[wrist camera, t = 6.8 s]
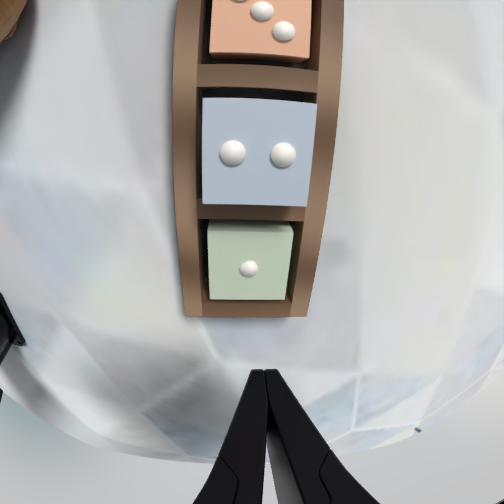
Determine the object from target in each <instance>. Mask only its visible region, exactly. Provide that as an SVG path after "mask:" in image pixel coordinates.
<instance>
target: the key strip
mask: <svg viewBox="0 0 504 504" xmlns="http://www.w3.org/2000/svg"><path fill="white" fill-rule="evenodd" d="M207 5H208V0H178V1H177V12H176V24H175V40H174V59H173V93H172V139H173V175H174V196H175V213H176V228H177V241H178V253H179V263H180V274H181V283H182V292H183V301H184V309H185V316H197V317H305V316H307V311H308V306H309V302H310V297H311V292H312V287H313V282H314V277H315V271H316V266H317V261H318V255H319V249H320V244H321V238H322V232H323V226H324V219H325V213H326V207H327V200H328V193H329V186H330V178H331V171H332V163H333V155H334V146H335V137H336V128H337V118H338V107H339V95H340V82H341V67H342V49H343V22H344V0H312V2H311V31H310V52H309V58H308V59H306V69H299V68H290V67H279V66H266V65H247V64H204V52H205V34H206V18H207ZM211 88H226V89H258V90H274V91H287V92H297V93H304V102H305V103H313V104H317V114H316V125H315V136H314V146H313V156H312V166H311V175H310V184H309V192H308V200H307V207H304V206H280V205H245V204H203V199H202V109H203V89H211ZM203 219H239V220H281V221H292V230H293V241H292V249H291V257H290V265H289V272H288V279H287V287H286V294H285V300H226V299H210V289H209V277H205V264H204V239H203Z"/></svg>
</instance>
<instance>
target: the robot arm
mask: <svg viewBox="0 0 504 504" xmlns="http://www.w3.org/2000/svg"><path fill="white" fill-rule="evenodd" d="M24 343H25V342H24V339H23V338H22V336H21V334H20V332H19V330H18V328H17V327H16V325H15V323H14V321H13V319H12V317H11V315H10V313H9V311H8V309H7V307H6V304H5V302H4V300H3V298H2V296H1V294H0V365H1V363H2V361H3V359H4V357H5V356H6V354H7V352H8V350H9V349H10V347H11V345H12V344H15V345H18V346H23V345H24ZM2 393H3V390H2V389H1V388H0V402H1V397H2ZM266 442H267V448H268V453H269V458H270V464H271V468H272V474H273V479H274V484H275V489H276V494H277V499H278V504H380V503H379V502H378V501H376V500H375V499H374V498H373V497H372V496H371V495H370V494H369V493H368V492H367V491H366V490H365V489H364V488H363V487H362V486H361V485H360V484H359V483H358V482H357V481H356V480H355V478H354V477H353V476H352V475H351V474H350V473H349V472H348V471H347V470H346V469H345V467H344V466H343V465H342V463H341V462H340V461H339V459H338V458H337V457H336V455H335V454H334V452H333V451H332V450H331V449H330V447H329V446H328V444H327V443H326V441H325V440H324V438H323V437H322V436H321V434H320V433H319V431H318V430H317V428H316V427H315V425H314V424H313V422H312V421H311V419H310V418H309V417H308V415H307V414H306V412H305V411H304V409H303V408H302V406H301V405H300V403H299V402H298V400H297V399H296V397H295V396H294V394H293V393H292V391H291V390H290V388H289V387H288V385H287V384H286V382H285V380H284V379H283V377H282V376H281V374H280V373H279V371H278V370H277V369H265V370H262V369H253V370H251V372H250V374H249V377H248V380H247V382H246V385H245V388H244V390H243V393H242V396H241V398H240V401H239V404H238V406H237V409H236V411H235V414H234V417H233V419H232V422H231V424H230V427H229V429H228V432H227V434H226V437H225V439H224V442H223V444H222V447H221V449H220V452H219V454H218V455H219V456H218V457H217V459H216V461H215V464H214V466H213V468H212V471H211V473H210V475H209V477H208V479H207V481H206V483H205V484H204V486H203V488H202V490H201V491H200V493H199V494H198V496H197V498H196V499H195V501H194V502H193V504H262V495H263V482H264V468H265V453H266ZM329 449H330V450H329ZM496 504H504V499H503V500H501V501H499V502H498V503H496Z"/></svg>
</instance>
